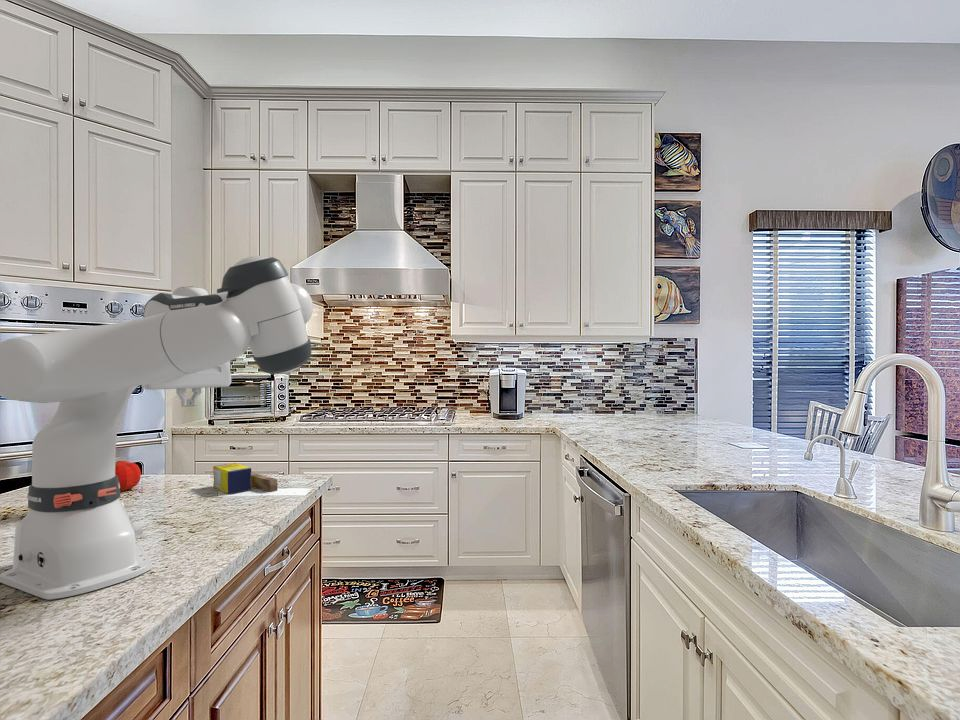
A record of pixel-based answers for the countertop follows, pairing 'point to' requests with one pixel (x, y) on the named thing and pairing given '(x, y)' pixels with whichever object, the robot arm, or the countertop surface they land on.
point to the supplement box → (232, 478)
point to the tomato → (127, 474)
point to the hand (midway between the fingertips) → (188, 406)
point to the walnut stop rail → (263, 482)
